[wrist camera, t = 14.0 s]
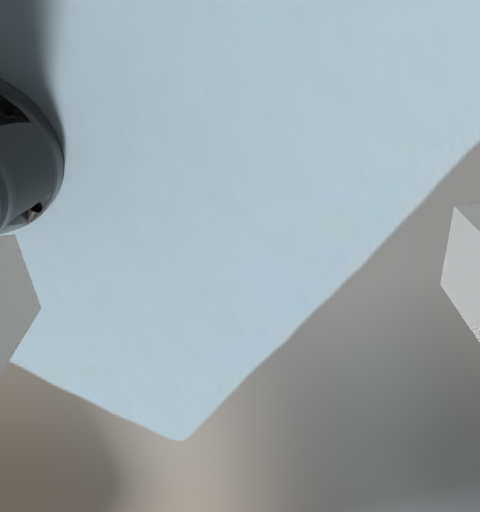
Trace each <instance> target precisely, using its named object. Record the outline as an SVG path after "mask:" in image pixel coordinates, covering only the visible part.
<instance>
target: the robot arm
mask: <svg viewBox="0 0 480 512" xmlns="http://www.w3.org/2000/svg"><path fill="white" fill-rule="evenodd" d="M63 172H64V164H63V155H62V150H61V147H60V144H59V141H58V138H57V136H56V134H55V132H54V130H53V128H52V126H51V124H50V123H49V121H48V120H47V118H46V117H45V115H44V114H43V113H42V112H41V110H40V109H39V108H38V107H37V106H36V105H35V104H34V103H33V102H32V101H31V100H30V99H29V98H28V97H26V96H25V95H24V94H23V93H21V92H20V91H19V90H17V89H16V88H14V87H13V86H11V85H9V84H7V83H5V82H4V81H2V80H0V234H3V233H6V232H10V231H13V230H16V229H19V228H21V227H24V226H26V225H28V224H29V223H31V222H33V221H34V220H36V219H37V218H38V217H39V216H40V215H42V214H43V212H44V211H45V210H46V209H47V208H48V207H49V206H50V205H51V203H52V202H53V201H54V199H55V198H56V196H57V194H58V192H59V190H60V187H61V184H62V180H63ZM440 284H441V286H442V288H443V289H444V290H445V292H446V293H447V295H448V296H449V298H450V299H451V301H452V302H453V304H454V305H455V307H456V308H457V310H458V311H459V313H460V314H461V316H462V317H463V318H464V320H465V321H466V323H467V324H468V325H469V327H470V328H471V330H472V331H473V333H474V335H475V336H476V337H477V339H478V340H479V342H480V205H467V206H455V207H454V211H453V217H452V222H451V228H450V234H449V239H448V244H447V250H446V255H445V261H444V266H443V272H442V277H441V283H440ZM40 309H41V306H40V303H39V300H38V298H37V295H36V292H35V289H34V286H33V284H32V281H31V278H30V275H29V273H28V270H27V267H26V264H25V261H24V259H23V256H22V253H21V250H20V248H19V245H18V242H17V239H16V236H15V235H4V236H0V375H1V373H2V371H3V370H4V368H5V367H6V365H7V363H8V362H9V360H10V358H11V357H12V355H13V353H14V352H15V350H16V349H17V347H18V345H19V344H20V342H21V340H22V339H23V337H24V335H25V334H26V332H27V331H28V329H29V327H30V326H31V324H32V322H33V321H34V319H35V317H36V316H37V314H38V313H39V311H40Z"/></svg>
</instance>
